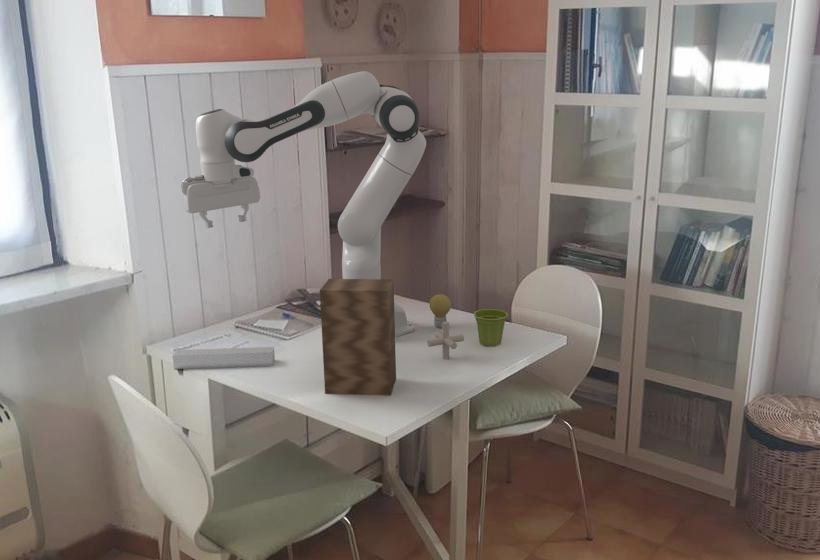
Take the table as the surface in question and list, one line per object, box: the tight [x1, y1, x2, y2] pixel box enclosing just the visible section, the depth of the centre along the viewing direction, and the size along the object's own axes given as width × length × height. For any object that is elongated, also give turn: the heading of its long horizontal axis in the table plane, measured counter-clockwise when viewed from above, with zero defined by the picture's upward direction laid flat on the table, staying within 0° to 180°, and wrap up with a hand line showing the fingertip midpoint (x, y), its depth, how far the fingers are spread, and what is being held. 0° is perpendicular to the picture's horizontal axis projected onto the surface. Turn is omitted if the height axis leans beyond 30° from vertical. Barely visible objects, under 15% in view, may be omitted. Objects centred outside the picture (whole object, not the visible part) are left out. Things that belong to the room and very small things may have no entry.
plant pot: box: [473, 308, 509, 347], centre depth 218 cm, size 9×9×9 cm
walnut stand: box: [319, 278, 397, 396], centre depth 188 cm, size 16×10×26 cm, turn 84°
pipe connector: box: [427, 321, 465, 360], centre depth 207 cm, size 10×10×10 cm
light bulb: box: [429, 293, 452, 329], centre depth 232 cm, size 6×6×10 cm
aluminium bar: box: [172, 346, 276, 370], centre depth 207 cm, size 26×4×4 cm, turn 93°
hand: (226, 224), depth 208 cm, fingers open, 8 cm apart
